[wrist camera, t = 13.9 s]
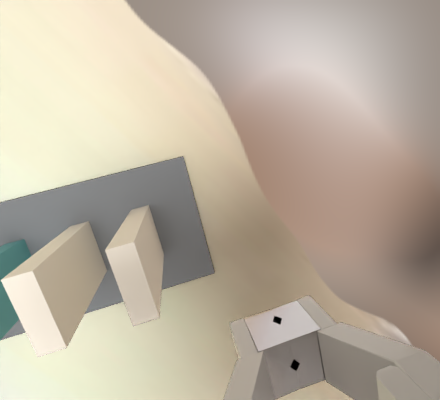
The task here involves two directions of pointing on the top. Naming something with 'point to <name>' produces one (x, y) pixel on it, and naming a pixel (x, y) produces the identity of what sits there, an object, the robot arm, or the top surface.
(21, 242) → the teal domino
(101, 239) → the slate mat
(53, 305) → the ivory domino
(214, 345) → the top surface
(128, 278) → the ivory domino
